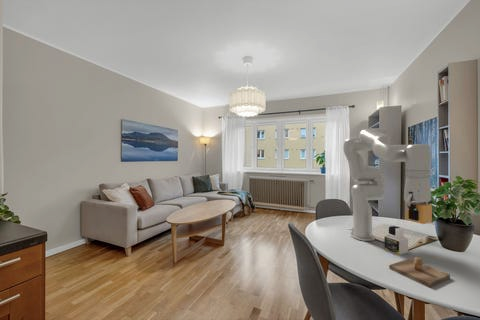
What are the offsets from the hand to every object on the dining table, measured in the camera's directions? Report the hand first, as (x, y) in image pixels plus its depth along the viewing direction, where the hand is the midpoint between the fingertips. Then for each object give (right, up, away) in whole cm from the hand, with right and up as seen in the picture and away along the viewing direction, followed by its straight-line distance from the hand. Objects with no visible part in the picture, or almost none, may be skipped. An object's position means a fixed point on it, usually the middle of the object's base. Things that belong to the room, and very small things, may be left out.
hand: (418, 218), depth 84 cm
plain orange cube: (0, -1, 0) cm, 1 cm away
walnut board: (0, -23, 0) cm, 23 cm away
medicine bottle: (+6, -23, +20) cm, 31 cm away
